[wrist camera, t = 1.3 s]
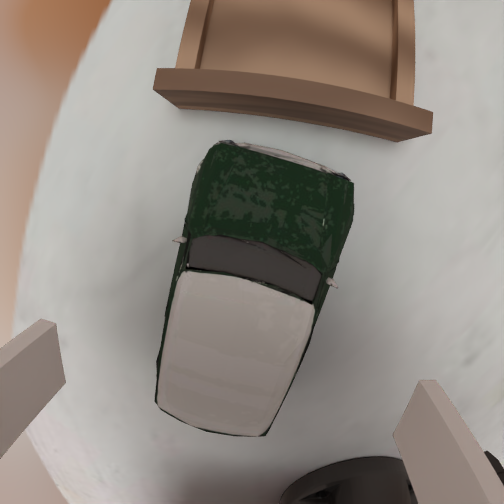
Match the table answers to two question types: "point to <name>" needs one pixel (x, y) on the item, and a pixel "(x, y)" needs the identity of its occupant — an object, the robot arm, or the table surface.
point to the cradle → (302, 63)
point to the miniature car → (248, 285)
